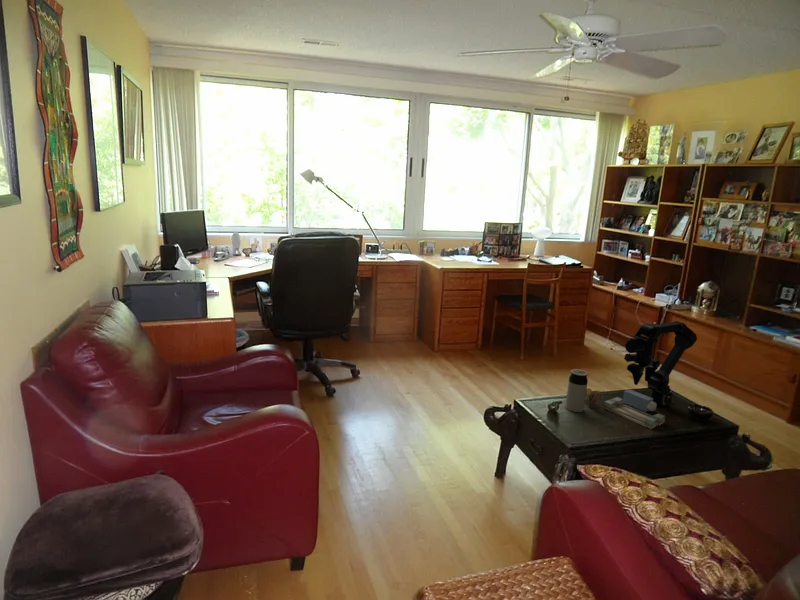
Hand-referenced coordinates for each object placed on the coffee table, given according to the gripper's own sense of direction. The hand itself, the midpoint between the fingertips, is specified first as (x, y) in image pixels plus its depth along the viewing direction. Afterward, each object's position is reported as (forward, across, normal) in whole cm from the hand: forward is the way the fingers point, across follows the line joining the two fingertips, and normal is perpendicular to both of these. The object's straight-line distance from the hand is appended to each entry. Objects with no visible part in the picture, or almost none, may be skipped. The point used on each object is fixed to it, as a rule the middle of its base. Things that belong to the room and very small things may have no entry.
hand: (641, 382), depth 236 cm
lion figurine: (+12, +19, -13) cm, 25 cm away
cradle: (+12, +12, +5) cm, 17 cm away
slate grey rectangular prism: (+12, 0, 0) cm, 12 cm away
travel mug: (+12, +30, -14) cm, 35 cm away
